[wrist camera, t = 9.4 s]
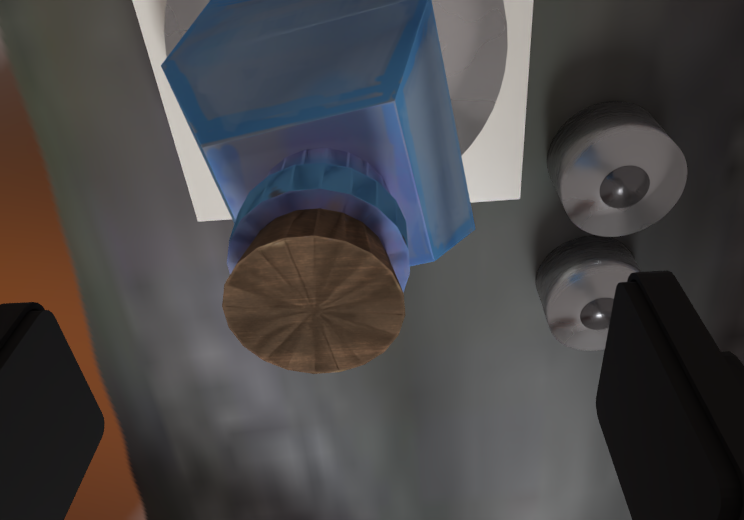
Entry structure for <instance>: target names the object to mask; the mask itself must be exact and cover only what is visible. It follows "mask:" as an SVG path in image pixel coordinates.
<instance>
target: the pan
mask: <svg viewBox="0 0 744 520" xmlns="http://www.w3.org/2000/svg"><path fill="white" fill-rule="evenodd" d="M209 1H210V0H167V2H166V7H165V23H164V37H165V49H166V57H168V55H169V54H170V53H171V51H172V50H173V49H174V47H175V46H176V45H177V43H178V42H179V41H180V39H181V38H182V37H183V35H184V34H185V33H186V32H187V30H188V29H189V28H190V26H191V25H192V24H193V22H194V21H195V20H196V18H197V17H198V16H199V14H200V13H201V12H202V10H203V9H204V8H205V6H206V5H207V4H208V3H209ZM432 5H433V11H434V16H435V21H436V26H437V31H438V37H439V42H440V47H441V52H442V58H443V63H444V68H445V73H446V78H447V84H448V89H449V94H450V99H451V104H452V110H453V115H454V120H455V125H456V130H457V136H458V141H459V146H460V151H461V156H462V155H463V154H464V152H465V151H466V150H467V149H468V148H469V147H470V146H471V145H472V143H473V142H474V140H475V139H476V138H477V136H478V135H479V133H480V132H481V131H482V129H483V127H484V125H485V124H486V122H487V120H488V118H489V116H490V114H491V113H492V111H493V108H494V105H495V103H496V100H497V98H498V95H499V93H500V89H501V85H502V81H503V77H504V73H505V67H506V58H507V49H508V42H507V21H506V15H505V8H504V2H503V0H432Z"/></svg>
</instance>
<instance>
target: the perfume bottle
mask: <svg viewBox="0 0 744 520" xmlns="http://www.w3.org/2000/svg"><path fill="white" fill-rule="evenodd" d="M161 67H162V69H163V72H164V74H165V76H166V78H167V80H168V82H169V84H170V87H171V89H172V91H173V93H174V95H175V97H176V99H177V102H178V104H179V106H180V108H181V110H182V112H183V114H184V117H185V119H186V121H187V123H188V125H189V127H190V129H191V132H192V134H193V136H194V138H195V140H196V142H197V144H198V147H199V149H200V151H201V153H202V155H203V157H204V160H205V162H206V164H207V166H208V168H209V170H210V172H211V175H212V177H213V179H214V181H215V183H216V185H217V187H218V190H219V192H220V194H221V196H222V198H223V200H224V202H225V205H226V207H227V209H228V211H229V213H230V215H231V217H232V220H233V222H234V227H233V230H232V234H231V237H230V240H229V249H228V258H227V265H228V268H229V272H230V276H229V278H228V279H227V281H226V283H225V285H224V294H223V304H222V307H223V310H224V314H225V317H226V320H227V323H228V326H229V328H230V330H231V331H232V332H233V333H234V335H235V336H236V337H237V339H238V340H239V341H240V342H241V344H242V345H243V346H244V347H245V348H247V349H248V350H250V351H251V352H252V353H254V354H255V355H257V356H258V357H259V358H261V359H262V360H264V361H267V362H269V363H272V364H274V365H277V366H279V367H282V368H284V369H287V370H293V371H299V372H306V373H312V374H317V373H332V372H341V371H345V370H348V369H351V368H355V367H358V366H361V365H364V364H366V363H367V362H369V361H371V360H372V359H374V358H375V357H377V356H379V355H380V354H382V353H383V352H385V350H386V349H387V348H388V347H389V346H390V344H391V343H392V342H393V341H394V340H395V339H396V337H397V336H398V335H399V332H400V329H401V326H402V323H403V320H404V317H405V306H404V295H403V292H404V289H405V286H406V283H407V280H408V277H409V274H410V266H414V265H418V264H423V263H428V262H433V261H435V260H437V259H438V258H439V257H440V256H442V255H443V254H444V253H446V252H447V251H448V250H449V249H451V248H452V247H453V246H455V245H456V244H457V243H458V242H460V241H461V240H462V239H463V238H465V237H466V236H467V235H469V234H470V233H471V232H472V231H474V230H475V224H474V219H473V214H472V209H471V203H470V198H469V193H468V188H467V182H466V177H465V172H464V167H463V162H462V156H461V151H460V146H459V141H458V136H457V130H456V125H455V120H454V115H453V110H452V104H451V99H450V94H449V89H448V84H447V78H446V73H445V68H444V63H443V58H442V52H441V47H440V42H439V37H438V31H437V26H436V21H435V16H434V11H433V5H432V0H210V1H209V3H208V4H207V5H206V6H205V8H204V9H203V10H202V12H201V13H200V14H199V16H198V17H197V18H196V20H195V21H194V22H193V24H192V25H191V26H190V28H189V29H188V30H187V32H186V33H185V34H184V35H183V37H182V38H181V39H180V41H179V42H178V43H177V45H176V46H175V47H174V49H173V50H172V51H171V53H170V54H169V55H168V57H167V58H166V59H165V61H164V62H163V63H162V65H161Z"/></svg>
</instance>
